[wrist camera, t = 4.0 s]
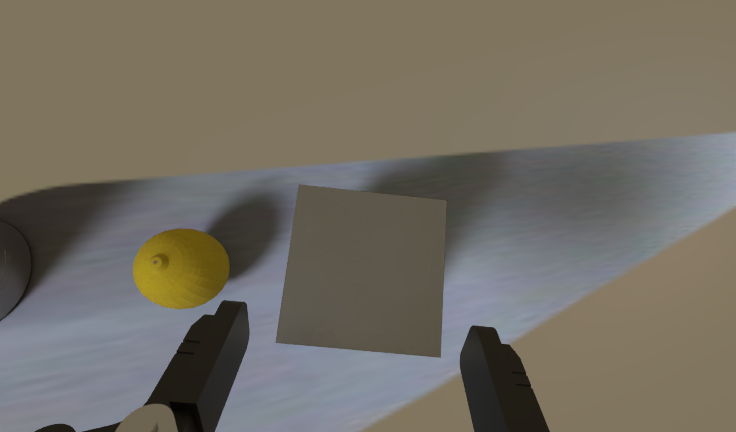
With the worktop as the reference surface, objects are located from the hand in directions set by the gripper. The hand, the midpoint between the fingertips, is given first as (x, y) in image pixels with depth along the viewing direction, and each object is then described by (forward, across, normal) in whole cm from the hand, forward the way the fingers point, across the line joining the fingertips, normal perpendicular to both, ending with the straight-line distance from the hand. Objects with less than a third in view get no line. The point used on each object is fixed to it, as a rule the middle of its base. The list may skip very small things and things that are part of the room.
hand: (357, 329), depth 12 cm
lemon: (+13, +12, +10) cm, 20 cm away
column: (+12, 0, +9) cm, 15 cm away
